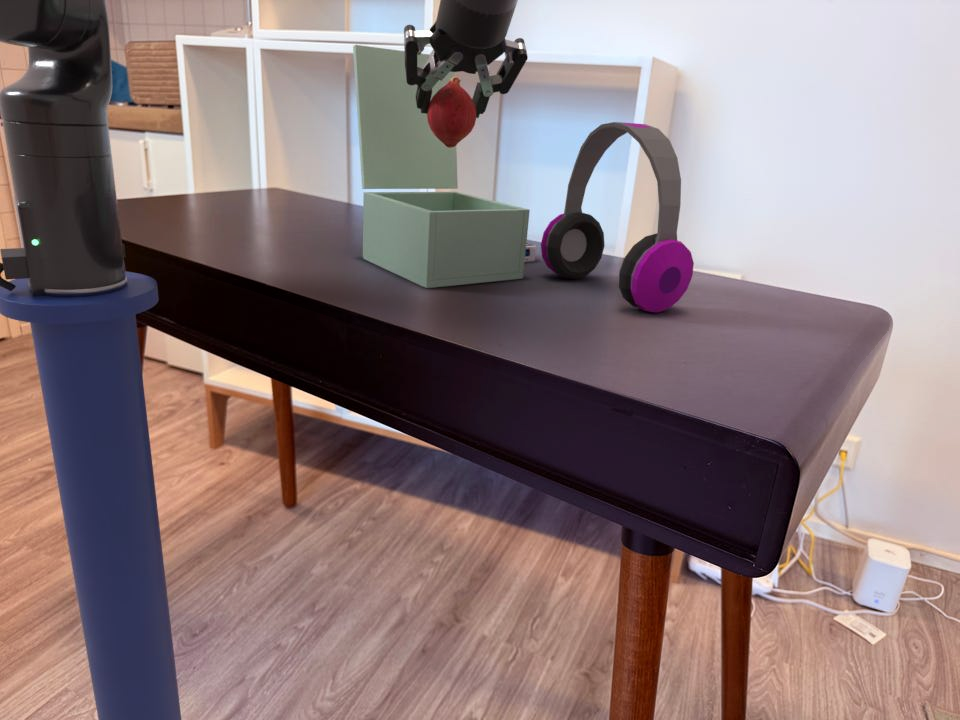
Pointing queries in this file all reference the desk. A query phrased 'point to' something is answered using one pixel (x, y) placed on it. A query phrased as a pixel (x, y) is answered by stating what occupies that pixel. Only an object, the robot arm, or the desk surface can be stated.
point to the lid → (397, 126)
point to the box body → (444, 237)
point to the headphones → (653, 260)
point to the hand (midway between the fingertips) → (449, 110)
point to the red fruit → (451, 113)
